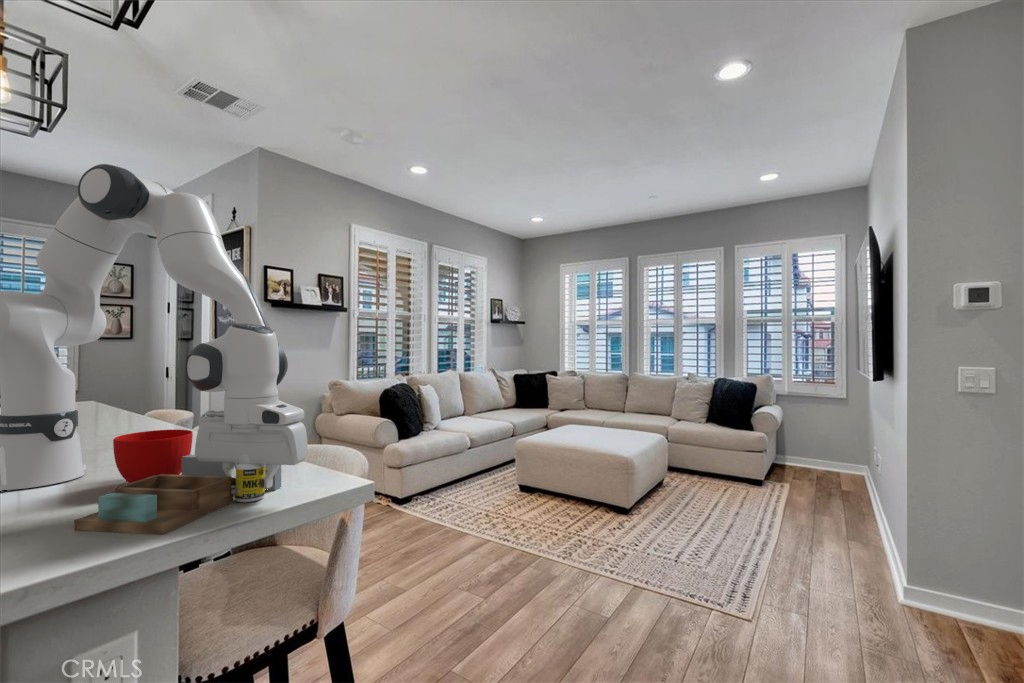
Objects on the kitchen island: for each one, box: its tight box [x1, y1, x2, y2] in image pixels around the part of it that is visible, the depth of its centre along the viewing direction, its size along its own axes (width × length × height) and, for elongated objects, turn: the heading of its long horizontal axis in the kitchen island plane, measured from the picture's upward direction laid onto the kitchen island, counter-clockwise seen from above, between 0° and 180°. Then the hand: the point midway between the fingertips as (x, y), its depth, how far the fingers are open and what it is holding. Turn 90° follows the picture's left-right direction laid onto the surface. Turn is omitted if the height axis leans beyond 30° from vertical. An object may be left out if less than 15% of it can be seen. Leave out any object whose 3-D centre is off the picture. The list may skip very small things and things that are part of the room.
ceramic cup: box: [112, 429, 193, 484], centre depth 97 cm, size 13×17×10 cm
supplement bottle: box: [234, 455, 266, 503], centre depth 86 cm, size 5×5×8 cm
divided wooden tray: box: [73, 474, 235, 535], centre depth 79 cm, size 15×15×5 cm
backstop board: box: [180, 454, 282, 491], centre depth 94 cm, size 20×2×6 cm, turn 84°
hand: (250, 486), depth 86 cm, fingers closed on supplement bottle, 5 cm apart
